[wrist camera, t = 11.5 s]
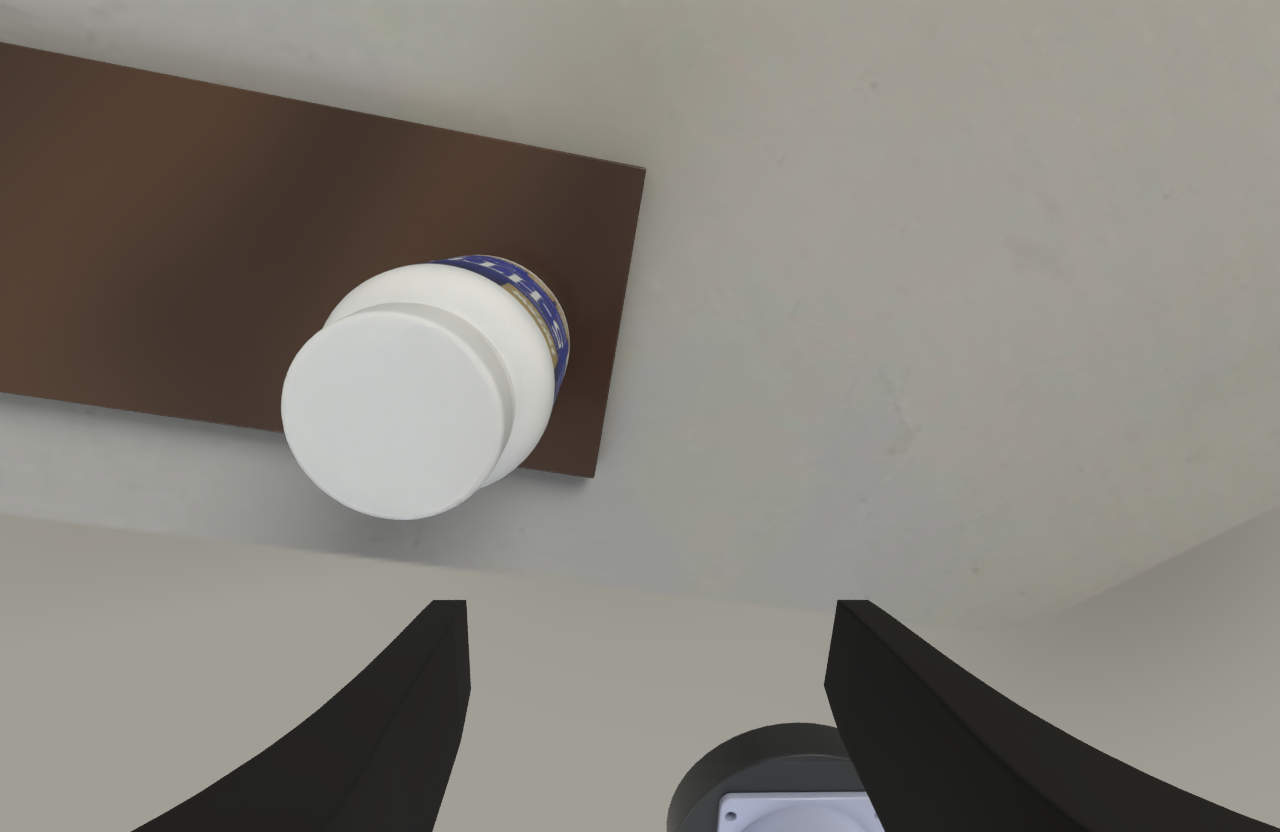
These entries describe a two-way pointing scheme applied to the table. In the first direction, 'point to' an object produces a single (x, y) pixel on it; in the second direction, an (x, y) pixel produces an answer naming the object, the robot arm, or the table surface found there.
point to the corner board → (268, 239)
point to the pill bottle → (426, 385)
